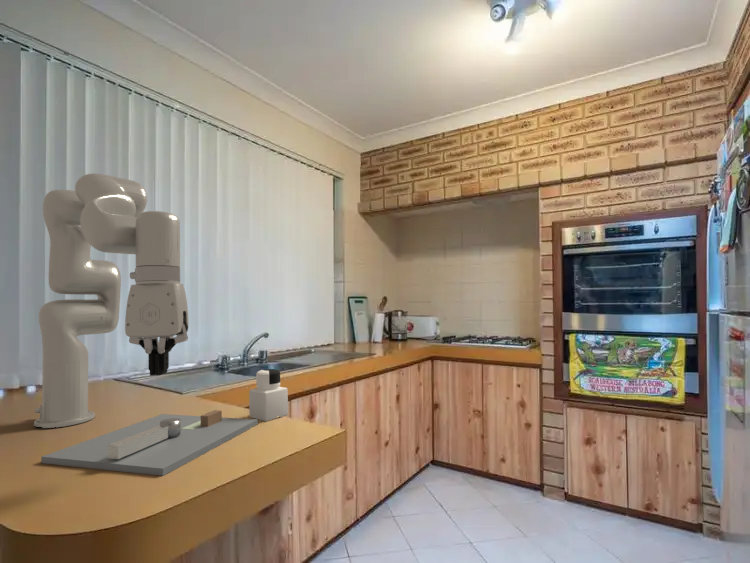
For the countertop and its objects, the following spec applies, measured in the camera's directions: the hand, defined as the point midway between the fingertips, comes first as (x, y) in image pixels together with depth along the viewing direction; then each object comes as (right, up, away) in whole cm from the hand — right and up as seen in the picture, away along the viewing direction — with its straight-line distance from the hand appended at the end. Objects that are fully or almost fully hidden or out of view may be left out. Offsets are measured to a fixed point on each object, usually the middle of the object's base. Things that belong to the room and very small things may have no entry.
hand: (158, 374), depth 77 cm
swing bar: (-5, -15, +5) cm, 17 cm away
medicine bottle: (+13, -18, +29) cm, 37 cm away
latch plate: (-5, -17, +11) cm, 21 cm away
